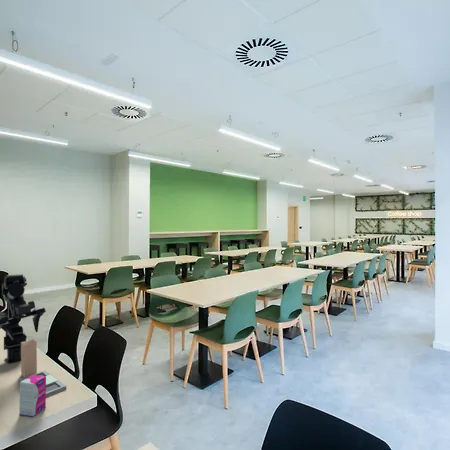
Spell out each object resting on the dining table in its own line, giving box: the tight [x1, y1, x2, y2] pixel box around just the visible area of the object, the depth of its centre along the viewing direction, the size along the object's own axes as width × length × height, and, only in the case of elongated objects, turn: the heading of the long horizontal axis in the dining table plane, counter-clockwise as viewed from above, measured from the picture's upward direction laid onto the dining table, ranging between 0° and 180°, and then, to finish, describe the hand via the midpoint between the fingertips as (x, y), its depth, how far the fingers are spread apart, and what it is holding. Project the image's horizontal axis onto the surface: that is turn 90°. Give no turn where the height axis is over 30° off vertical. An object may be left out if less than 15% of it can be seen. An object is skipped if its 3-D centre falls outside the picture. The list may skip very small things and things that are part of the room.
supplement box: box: [18, 375, 47, 418], centre depth 109 cm, size 6×6×12 cm
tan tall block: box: [20, 339, 38, 378], centre depth 136 cm, size 4×4×14 cm
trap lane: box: [18, 369, 67, 398], centre depth 127 cm, size 20×10×1 cm, turn 50°
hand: (25, 335), depth 138 cm, fingers open, 9 cm apart
